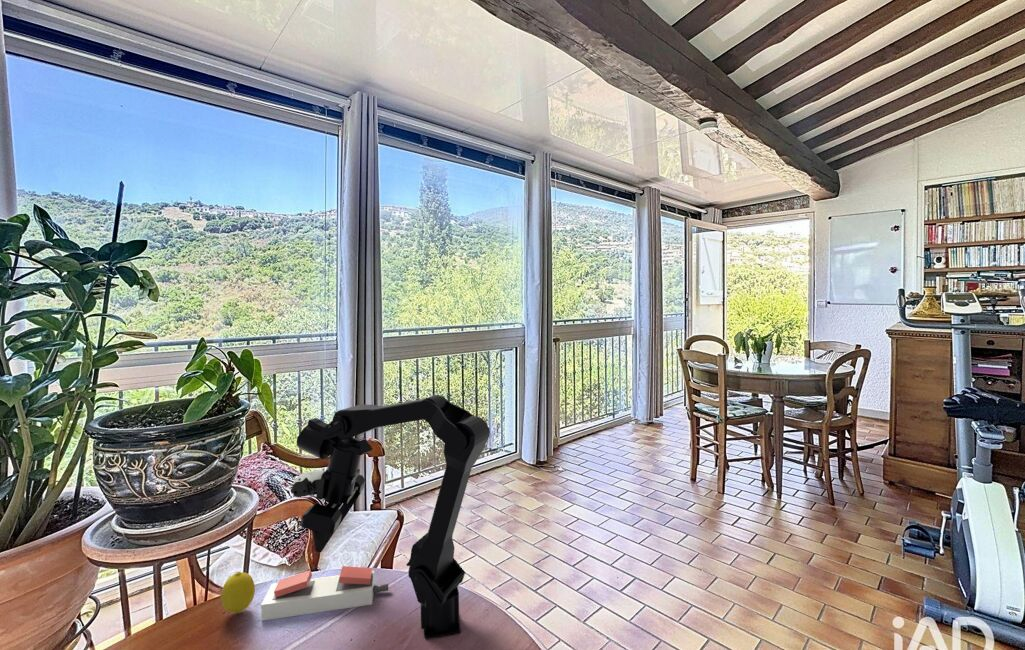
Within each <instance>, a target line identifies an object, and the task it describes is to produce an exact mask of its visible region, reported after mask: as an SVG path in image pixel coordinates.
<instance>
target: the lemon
mask: <svg viewBox="0 0 1025 650" xmlns="http://www.w3.org/2000/svg"><path fill="white" fill-rule="evenodd" d="M255 591H256V585H255V582H254V580H253V577H252V575H250V574H249V573H247V572H243V571H242V572H241V571H237V572H236V573H234V574H232V575H231V576H229V578H227V579H226V581H225V582H224V585H223V586H222V589H221V598H220V600H221V604H222V607H223V608H224V610H225V611H227V612H228V613H232V614H234V613H235V614H237V615H239V614H241V613H242V612H243V611H245V610H246V609H247V608H248V607H249V606H250V605H251V603H252V601H253V599H254V598H255V597H254V596H255Z"/></svg>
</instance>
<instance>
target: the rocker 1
mask: <svg viewBox="0 0 1025 650" xmlns="http://www.w3.org/2000/svg"><path fill="white" fill-rule="evenodd" d="M312 577H313V574H312V570H311V569H310V570H306V571H303V572H301V573H298V574H294V575H291V576H289V577H288V576H287V577H286V578H282V579H279V580H278V582H277V583H278V584H277V586H276V588H275V590H274V594H275V598H276V597H279V596H282V595H285V594H288V593H291V592H294V591H297V590H300V589H303V588H306V587H308V585H309V583H310V580H311V579H312Z"/></svg>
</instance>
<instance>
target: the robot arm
mask: <svg viewBox="0 0 1025 650" xmlns="http://www.w3.org/2000/svg"><path fill="white" fill-rule="evenodd" d="M423 420H424V421H425V422H426V423H427V424H428V425H429V427H430V428H431V430H432V432H433V433H434V435H435V436H436V438H438V439H439V440H441V441H442V442H443V443H444V444H443V445H444V446H443V455H444V460H445V469H444V473H443V476H442V481H441V484H440V488H439V491H438V494H437V498H436V501H435V505H434V509H433V513H432V516H431V520H430V524H429V528H428V530H427V532H426V533H425V534H424V535H422V537H421V538H419V539H418V540H417V541H415V543H414V544H412V546H411V550H410V558H409V560H408V562H407V563H406V567H409V568H408V571H407V572H408V578H409V579H410V581H411V583H412V587H413V590H414V593H415V595H416V599H417V602H418V603H420V629H421V630H423V638H424V639H426V640H427V639H433V638H440V637H445V636H452V635H458V634H460V633H461V632H462V628H461V621H460V592H459V587H458V586H460V584H461V583H463V581H464V578H465V575H466V571H465V570H464V569H463V568H462V566H461V565H460V564H459V563H458V561H457V560H456V559H455V545H454V540H453V536H454V535H453V534H454V533H455V528H456V525H457V522H458V517H459V513H460V512H461V511H460V510H461V506H462V503H463V500H464V496H465V492H466V489H467V485H468V483H469V480H470V479H469V478H470V475H471V472H472V469H473V467H474V465H475V464H476V462H477V460H478V459H479V457H480V456H481V454H482V453H483V452H484V451H483V450H484V449H485V447H486V444H487V442H488V441H489V438H490V434H491V431H490V430H491V429H490V427H489V426H488V423H487V422H486V421H485V420H484V418H482V417H480V416H476V415H474V414H472V413H471V412H470V411H468V410H467V409H465V408H463V407H461V406H459V405H456V404H454V403H452V402H451V401H449V400H448V399H447V398H446V397H444V396H443V395H440V394H433V395H432V396H428V397H424V398H420V399H418V398H417V399H414V400H409V401H404V402H400V403H399V402H398V403H393V404H388V405H376V404H364V403H363V404H359V405H353V406H350V407H347V408H343V409H340V410H337V411H336V412H334V415H333V416H332V420H331V421H330V422H329V423H327V422H325V421H323V420H322V419H320V418H317V417H315V418H312V419H309V420H307V425H306V426H304V427H303V428H302V430H301V431H300V433H299V434H298V436H297V438H296V446H297V448H298V449H299V450H301V451H303V452H306V453H308V454H310V455H312V456H315V457H316V458H318V459H320V460H321V459H322V460H325V459H327V458H328V457H329V460H328V466H327V469H326V470H313V471H304V472H302V473H300V474H299V476H297V478H295V479H294V480H293V482H292V484H291V486H292V487H291V489H290V493H291V494H293V497H295V498H302V497H307V496H315V495H316V496H315V499H317V500H321V501H322V500H324V502H327V504H326V505H324V504H319V503H314V504H312V505H311V506H309V507H308V508H307V510H306V511H305V512H304V513H303V514H302V516H301V520H300V524H299V525H300V527H301V528H303V529H306V530H310V531H311V532H312V537H313V542H314V543H313V544H314V549H315V550H314V551H315V552H317V553H322V551H323V550H324V549H325V547H326V546H327V544H328V543H329V542H330V540H331V539H332V537H333V536H334V534H335V532H336V531H337V529H338V528H339V527H340V525H341V524H342V523H343V521H344V519H345V518H346V516H347V515H348V513H349V512H350V511H351V509H352V507H353V506H354V504H355V503H356V501H357V500H358V498H359V497H360V495H361V494H362V491H363V490H364V489H365V484H366V479H365V477H364V476H363V475H362V474H360V472H361V470H360V469H359V466H360V460H361V457H362V455H365V454H367V453H369V452H372V451H373V447H372V446H371V444H370V443H369V442H368V440H367V438H363V439H358V438H356V437H357V436H360V435H361V434H365V433H367V432H370V431H372V430H375V429H378V428H381V427H382V428H383V427H388V426H389V427H390V426H395V425H400V424H405V423H411V422H418V421H423Z"/></svg>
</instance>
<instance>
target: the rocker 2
mask: <svg viewBox="0 0 1025 650" xmlns="http://www.w3.org/2000/svg"><path fill="white" fill-rule="evenodd" d="M372 571H373V568H371V567H362V566H360V567H359V566H348V565H347V566H346V565H342V567H341V569H340V574H339V575H340V578H339V583H350V584H366V585H369V584H370V579H371V573H372Z"/></svg>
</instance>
